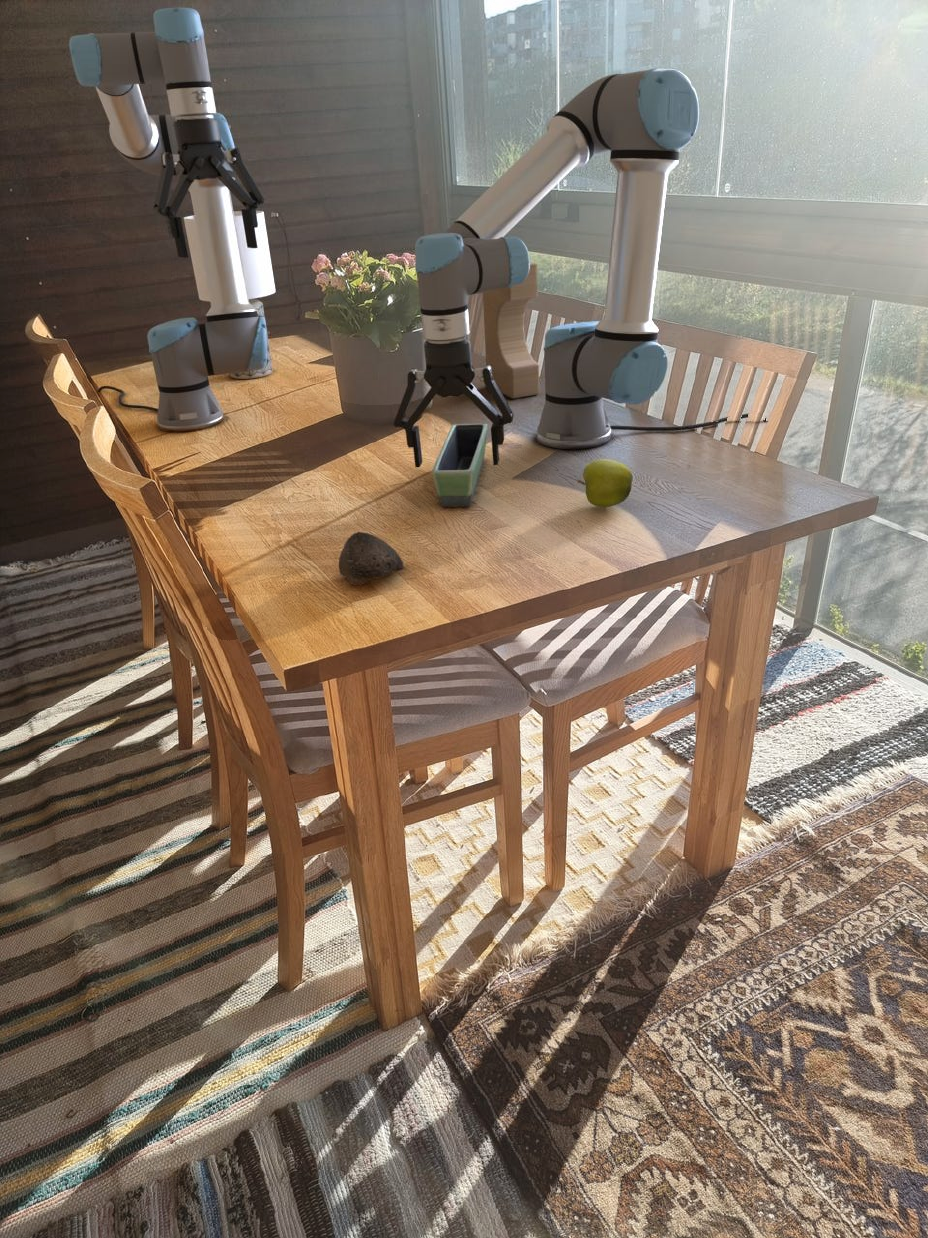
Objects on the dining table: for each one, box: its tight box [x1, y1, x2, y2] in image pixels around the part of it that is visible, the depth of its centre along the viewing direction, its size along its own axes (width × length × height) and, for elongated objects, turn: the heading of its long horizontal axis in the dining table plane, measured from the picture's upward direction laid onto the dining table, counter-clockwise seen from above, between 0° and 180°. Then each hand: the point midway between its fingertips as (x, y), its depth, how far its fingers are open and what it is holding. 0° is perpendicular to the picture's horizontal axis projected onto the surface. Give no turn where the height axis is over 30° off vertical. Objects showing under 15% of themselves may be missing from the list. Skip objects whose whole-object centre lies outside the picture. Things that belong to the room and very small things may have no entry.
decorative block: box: [482, 261, 540, 399], centre depth 213 cm, size 15×8×30 cm, turn 24°
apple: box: [577, 458, 634, 508], centre depth 149 cm, size 8×9×8 cm
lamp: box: [183, 210, 276, 380], centre depth 242 cm, size 21×21×42 cm
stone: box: [338, 531, 405, 586], centre depth 130 cm, size 10×8×10 cm
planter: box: [431, 423, 489, 508], centre depth 163 cm, size 28×7×7 cm, turn 173°
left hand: (218, 252), depth 160 cm, fingers open, 13 cm apart
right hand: (457, 463), depth 153 cm, fingers open, 13 cm apart
